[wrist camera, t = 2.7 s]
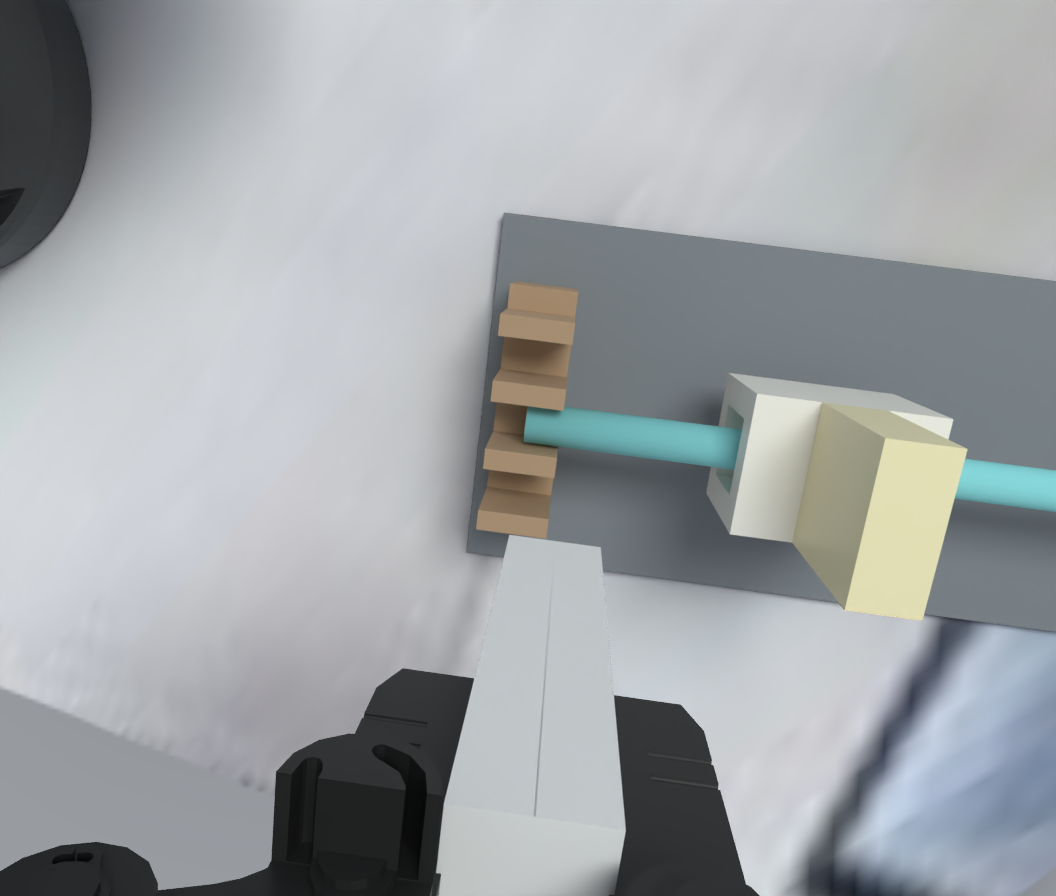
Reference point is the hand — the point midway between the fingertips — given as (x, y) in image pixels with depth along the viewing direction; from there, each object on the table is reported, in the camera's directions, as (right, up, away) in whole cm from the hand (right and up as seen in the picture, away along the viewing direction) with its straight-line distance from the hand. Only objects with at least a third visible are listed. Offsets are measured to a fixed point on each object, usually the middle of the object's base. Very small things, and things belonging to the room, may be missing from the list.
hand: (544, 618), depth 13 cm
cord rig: (+16, +3, +19) cm, 25 cm away
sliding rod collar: (+10, +3, +16) cm, 19 cm away
